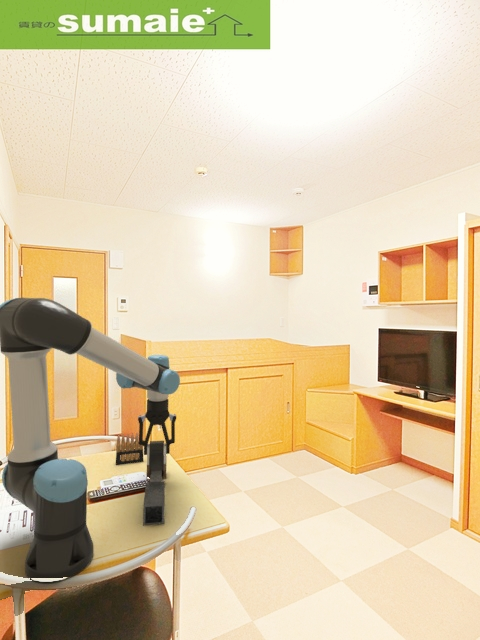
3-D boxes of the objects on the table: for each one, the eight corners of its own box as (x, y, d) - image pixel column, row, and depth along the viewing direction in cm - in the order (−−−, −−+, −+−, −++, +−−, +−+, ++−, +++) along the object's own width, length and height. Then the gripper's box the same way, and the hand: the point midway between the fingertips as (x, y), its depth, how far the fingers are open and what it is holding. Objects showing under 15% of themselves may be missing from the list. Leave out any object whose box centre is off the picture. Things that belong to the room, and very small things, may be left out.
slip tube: (162, 501, 118) (163, 458, 118) (146, 502, 117) (147, 459, 117) (163, 471, 139) (164, 435, 139) (149, 472, 138) (150, 436, 138)
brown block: (166, 478, 136) (166, 461, 136) (146, 479, 135) (146, 462, 135) (166, 472, 141) (166, 455, 141) (147, 473, 140) (147, 456, 139)
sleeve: (164, 523, 108) (164, 503, 107) (143, 525, 106) (143, 505, 106) (164, 499, 121) (164, 481, 121) (145, 500, 120) (146, 482, 120)
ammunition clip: (142, 460, 152) (143, 431, 151) (143, 461, 150) (144, 432, 150) (115, 463, 148) (116, 433, 147) (115, 465, 146) (116, 435, 146)
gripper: (183, 395, 137) (181, 457, 138) (132, 396, 133) (131, 460, 134) (184, 400, 130) (182, 465, 130) (130, 401, 126) (129, 468, 127)
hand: (156, 462), depth 132 cm, fingers open, 5 cm apart
